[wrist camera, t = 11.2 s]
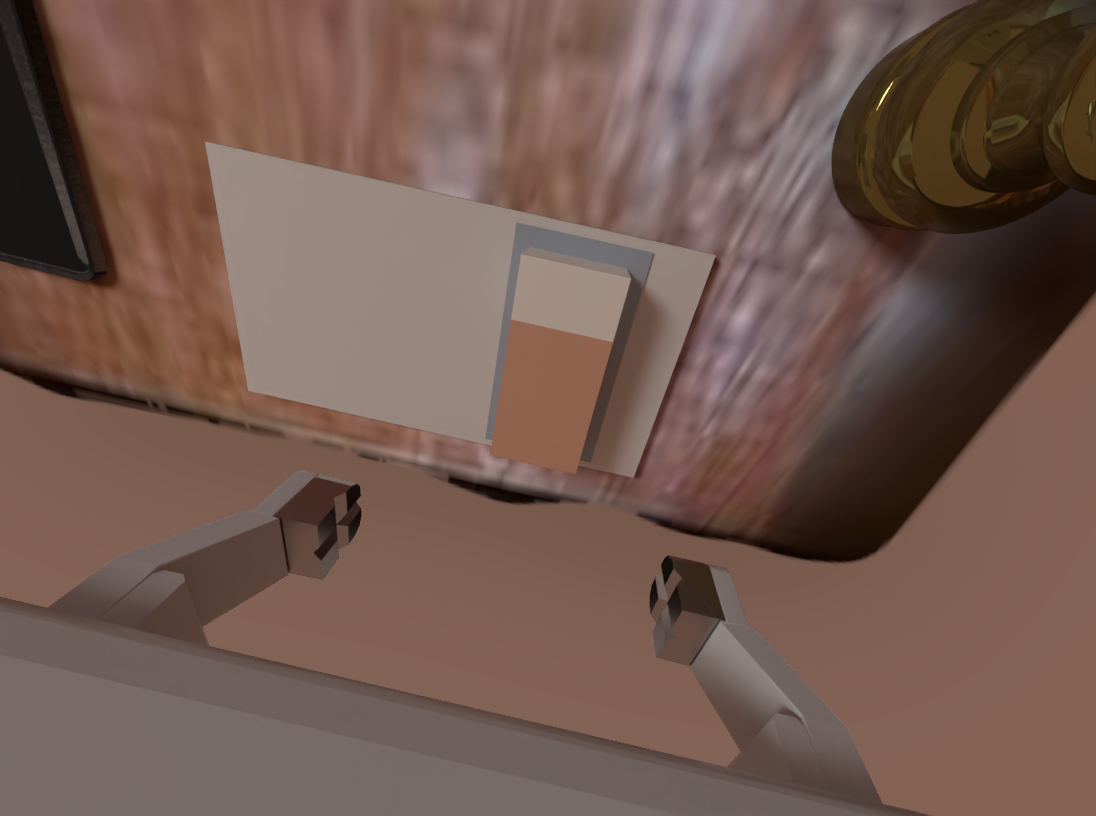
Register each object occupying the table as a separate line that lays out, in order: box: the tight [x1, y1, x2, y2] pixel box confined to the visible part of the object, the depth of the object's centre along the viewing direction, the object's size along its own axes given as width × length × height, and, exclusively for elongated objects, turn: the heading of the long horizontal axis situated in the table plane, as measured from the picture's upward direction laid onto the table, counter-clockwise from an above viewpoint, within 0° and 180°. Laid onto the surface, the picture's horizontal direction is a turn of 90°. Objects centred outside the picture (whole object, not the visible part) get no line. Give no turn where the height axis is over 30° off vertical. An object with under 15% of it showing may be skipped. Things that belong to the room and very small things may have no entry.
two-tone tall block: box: [490, 248, 631, 474], centre depth 22 cm, size 11×5×3 cm, turn 169°
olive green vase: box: [832, 0, 1096, 234], centre depth 13 cm, size 7×7×10 cm
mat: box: [205, 142, 716, 478], centre depth 23 cm, size 14×26×1 cm, turn 79°
